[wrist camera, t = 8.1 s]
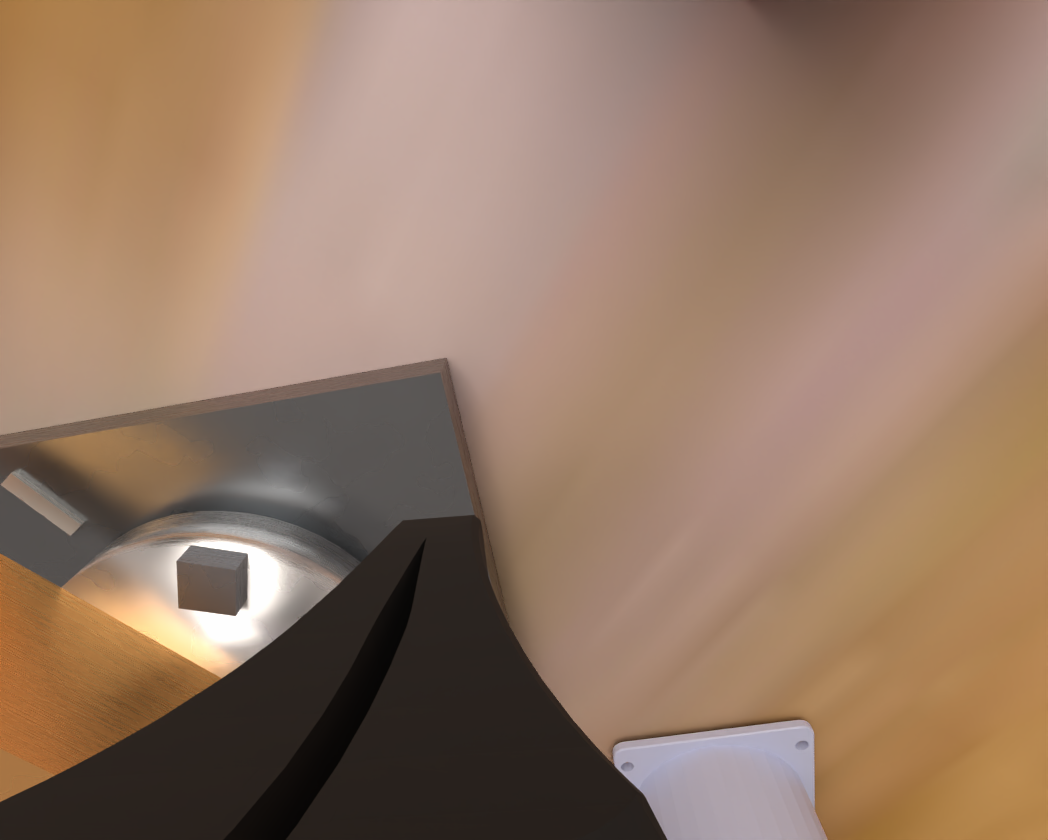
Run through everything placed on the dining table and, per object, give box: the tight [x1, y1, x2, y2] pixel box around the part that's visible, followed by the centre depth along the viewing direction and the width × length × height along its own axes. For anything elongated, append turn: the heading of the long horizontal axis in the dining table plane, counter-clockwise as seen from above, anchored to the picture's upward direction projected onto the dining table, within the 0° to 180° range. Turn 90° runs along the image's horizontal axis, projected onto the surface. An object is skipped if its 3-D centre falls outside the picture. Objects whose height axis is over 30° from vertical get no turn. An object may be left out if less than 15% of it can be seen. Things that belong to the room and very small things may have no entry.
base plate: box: [0, 358, 509, 624], centre depth 23 cm, size 18×18×2 cm
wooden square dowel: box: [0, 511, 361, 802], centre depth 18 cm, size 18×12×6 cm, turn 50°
